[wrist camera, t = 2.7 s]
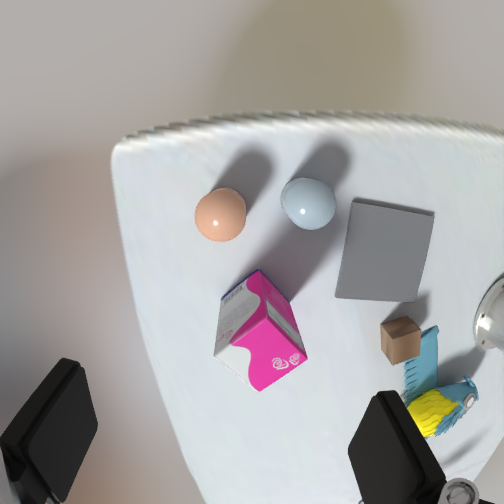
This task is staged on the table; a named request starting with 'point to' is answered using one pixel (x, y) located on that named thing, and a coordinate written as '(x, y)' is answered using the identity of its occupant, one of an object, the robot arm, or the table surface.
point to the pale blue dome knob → (308, 202)
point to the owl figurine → (434, 391)
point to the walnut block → (400, 340)
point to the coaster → (383, 254)
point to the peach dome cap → (221, 215)
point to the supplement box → (258, 333)
